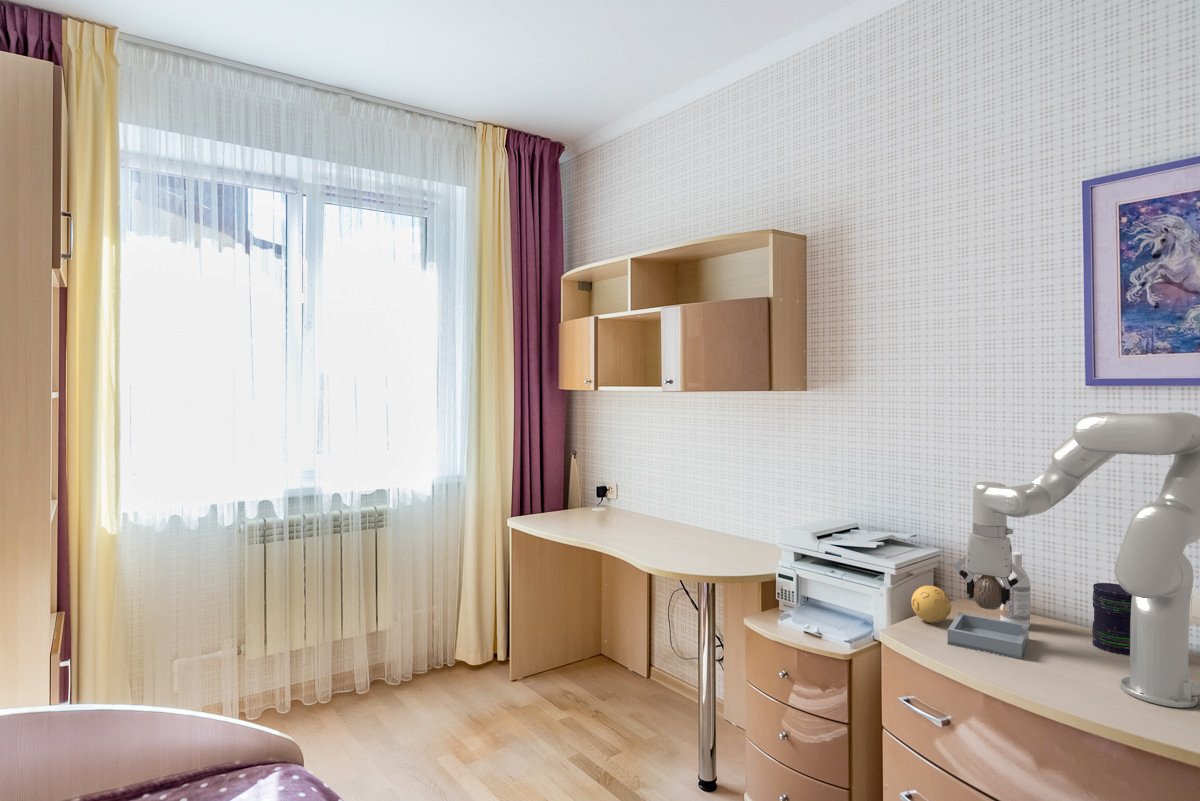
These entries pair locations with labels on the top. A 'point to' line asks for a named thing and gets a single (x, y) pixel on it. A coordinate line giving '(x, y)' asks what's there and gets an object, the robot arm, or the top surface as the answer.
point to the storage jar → (1111, 618)
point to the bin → (989, 635)
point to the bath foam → (1017, 597)
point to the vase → (988, 592)
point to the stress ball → (931, 604)
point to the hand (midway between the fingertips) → (987, 599)
